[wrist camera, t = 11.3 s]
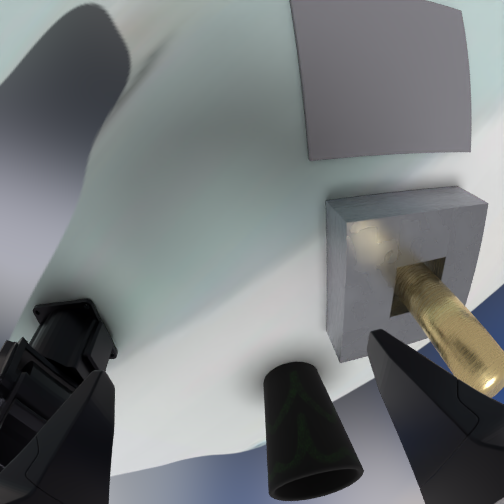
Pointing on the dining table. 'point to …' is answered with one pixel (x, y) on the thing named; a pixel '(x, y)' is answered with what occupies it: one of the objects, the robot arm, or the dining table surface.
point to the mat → (382, 77)
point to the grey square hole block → (395, 258)
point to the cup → (305, 436)
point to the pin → (451, 329)
